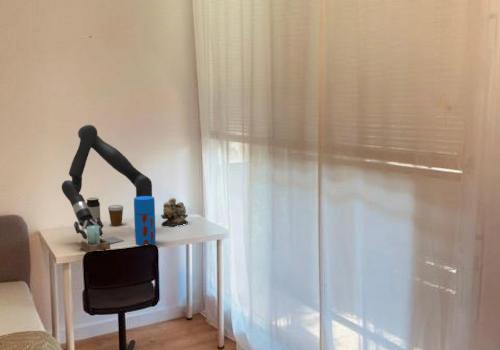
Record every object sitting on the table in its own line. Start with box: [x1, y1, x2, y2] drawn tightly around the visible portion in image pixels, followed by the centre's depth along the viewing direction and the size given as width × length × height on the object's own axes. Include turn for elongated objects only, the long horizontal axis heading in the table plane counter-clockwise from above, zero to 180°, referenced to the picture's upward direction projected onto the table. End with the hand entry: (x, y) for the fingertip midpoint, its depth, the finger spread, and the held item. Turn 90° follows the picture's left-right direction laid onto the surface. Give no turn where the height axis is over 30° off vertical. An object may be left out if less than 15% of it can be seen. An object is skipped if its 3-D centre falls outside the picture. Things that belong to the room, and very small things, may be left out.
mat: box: [102, 236, 125, 245], centre depth 265 cm, size 11×11×1 cm
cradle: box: [80, 238, 111, 253], centre depth 250 cm, size 10×11×4 cm
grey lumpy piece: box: [160, 197, 189, 227], centre depth 302 cm, size 18×12×17 cm, turn 127°
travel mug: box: [85, 196, 101, 223], centre depth 296 cm, size 8×8×18 cm
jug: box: [86, 225, 101, 245], centre depth 250 cm, size 6×8×12 cm
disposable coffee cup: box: [107, 204, 124, 227], centre depth 301 cm, size 10×10×12 cm
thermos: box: [133, 195, 157, 246], centre depth 260 cm, size 11×11×25 cm
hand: (93, 236), depth 250 cm, fingers open, 8 cm apart
